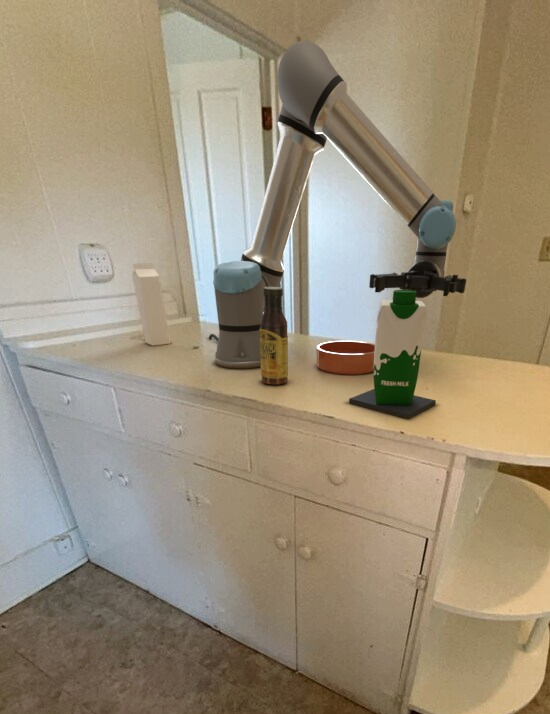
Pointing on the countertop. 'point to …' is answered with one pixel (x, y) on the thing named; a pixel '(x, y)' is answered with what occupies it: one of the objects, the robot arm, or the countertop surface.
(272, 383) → the sauce bottle
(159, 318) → the milk
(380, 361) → the drink carton
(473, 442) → the countertop surface
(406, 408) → the mat
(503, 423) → the countertop surface
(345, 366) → the bowl
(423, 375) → the countertop surface
